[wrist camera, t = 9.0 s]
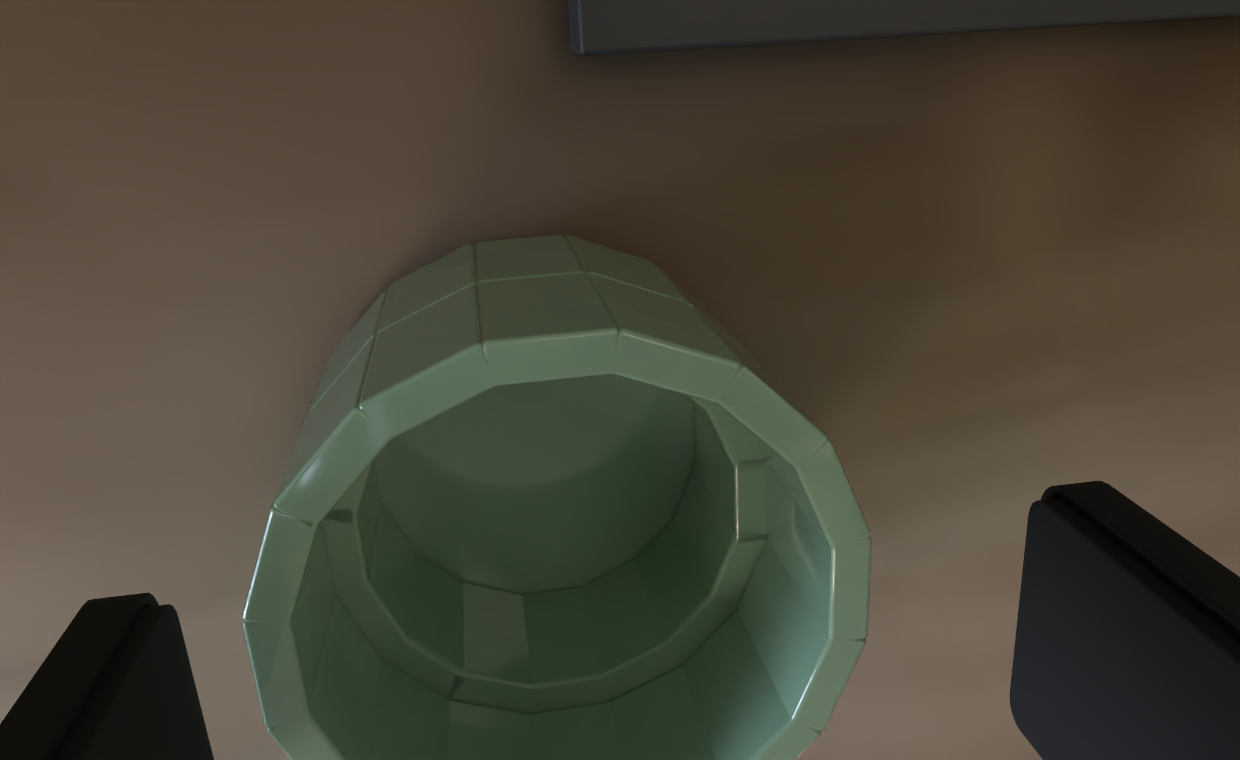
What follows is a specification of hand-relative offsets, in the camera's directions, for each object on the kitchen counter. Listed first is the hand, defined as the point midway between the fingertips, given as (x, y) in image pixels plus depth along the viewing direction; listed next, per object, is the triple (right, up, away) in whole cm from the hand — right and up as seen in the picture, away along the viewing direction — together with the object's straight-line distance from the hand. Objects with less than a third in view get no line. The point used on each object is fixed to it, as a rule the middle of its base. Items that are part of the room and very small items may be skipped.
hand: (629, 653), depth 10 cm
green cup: (-1, +2, +5) cm, 6 cm away
